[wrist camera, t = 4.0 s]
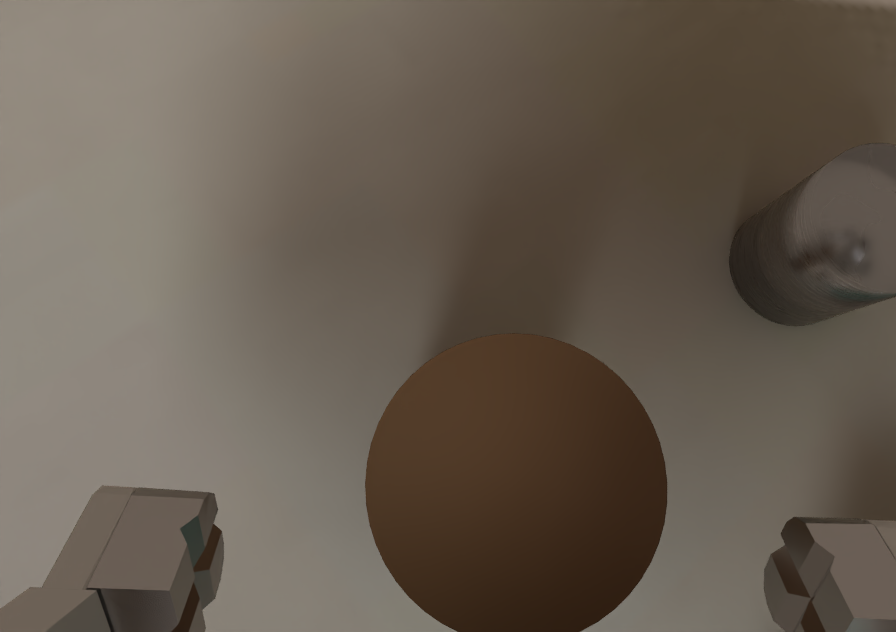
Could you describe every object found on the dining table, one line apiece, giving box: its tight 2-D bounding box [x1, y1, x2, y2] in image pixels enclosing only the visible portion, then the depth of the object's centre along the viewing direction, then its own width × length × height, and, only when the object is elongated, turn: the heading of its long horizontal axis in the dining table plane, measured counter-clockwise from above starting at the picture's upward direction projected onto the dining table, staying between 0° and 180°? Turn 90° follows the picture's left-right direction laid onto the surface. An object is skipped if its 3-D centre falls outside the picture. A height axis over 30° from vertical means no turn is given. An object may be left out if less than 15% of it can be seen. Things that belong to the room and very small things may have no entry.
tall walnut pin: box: [365, 333, 667, 632], centre depth 13 cm, size 3×3×10 cm
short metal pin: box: [729, 143, 896, 326], centre depth 17 cm, size 3×3×4 cm
